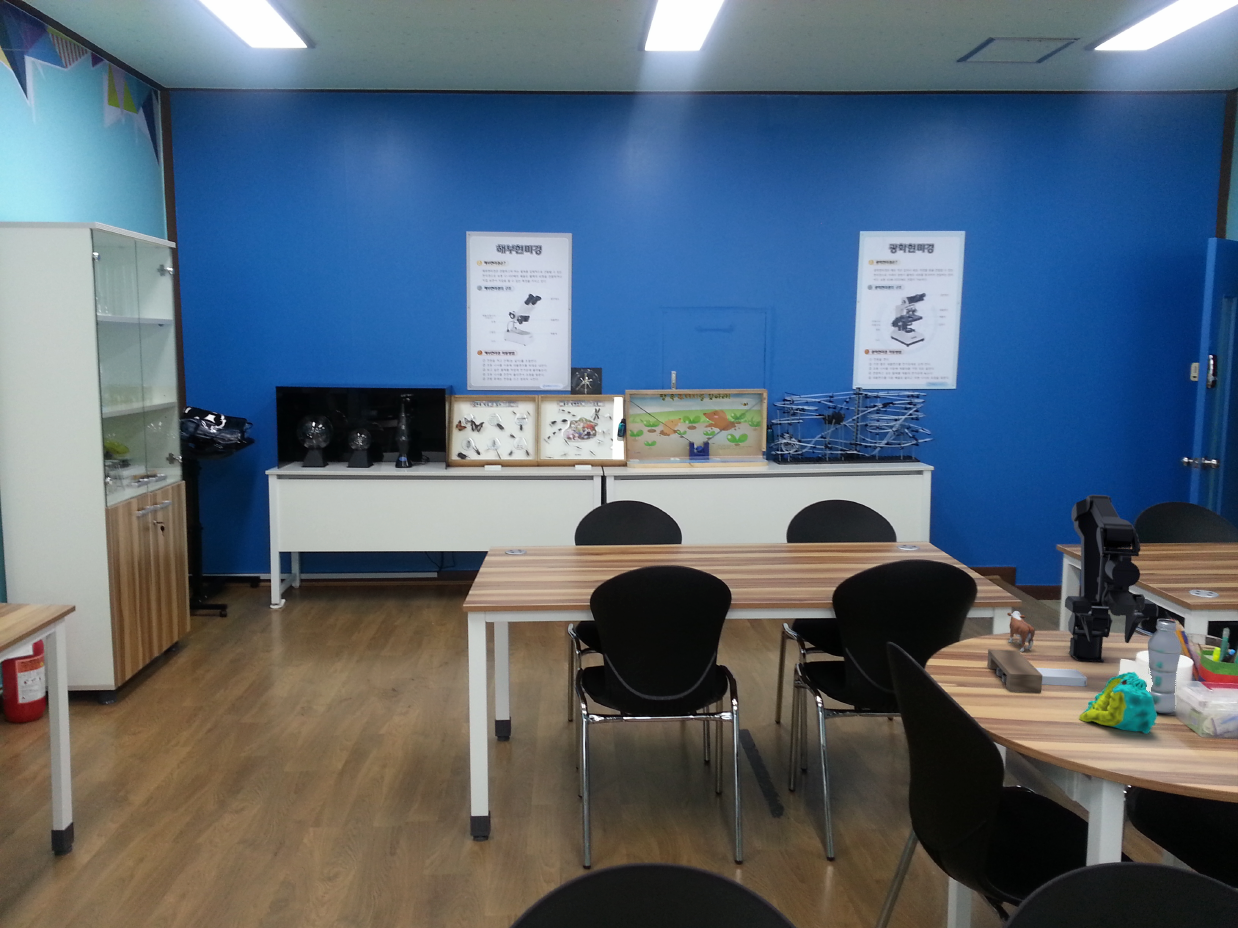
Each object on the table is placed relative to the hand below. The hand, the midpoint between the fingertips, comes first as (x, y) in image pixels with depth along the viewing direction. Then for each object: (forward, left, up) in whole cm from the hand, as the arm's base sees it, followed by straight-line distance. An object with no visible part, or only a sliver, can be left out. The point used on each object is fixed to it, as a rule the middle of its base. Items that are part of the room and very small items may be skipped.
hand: (1108, 641), depth 221 cm
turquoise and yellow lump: (+7, +26, -10) cm, 29 cm away
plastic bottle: (-5, +17, -10) cm, 20 cm away
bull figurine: (+11, -27, -10) cm, 31 cm away
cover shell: (+11, 0, -10) cm, 15 cm away
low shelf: (+21, 0, -10) cm, 23 cm away
